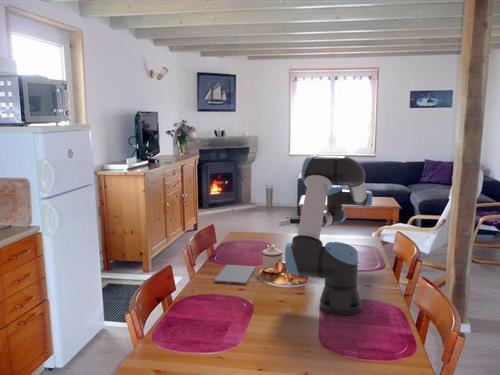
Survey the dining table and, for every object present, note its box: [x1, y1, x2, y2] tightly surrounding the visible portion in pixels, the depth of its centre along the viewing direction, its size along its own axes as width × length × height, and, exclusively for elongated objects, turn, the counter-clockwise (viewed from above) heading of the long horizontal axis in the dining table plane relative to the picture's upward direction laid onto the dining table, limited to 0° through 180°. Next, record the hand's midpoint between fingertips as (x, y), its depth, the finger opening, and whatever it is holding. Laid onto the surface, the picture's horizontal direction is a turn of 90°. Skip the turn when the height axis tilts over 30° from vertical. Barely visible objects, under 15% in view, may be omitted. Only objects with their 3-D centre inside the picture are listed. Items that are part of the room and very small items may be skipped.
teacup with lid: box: [261, 245, 283, 269], centre depth 201 cm, size 12×9×12 cm
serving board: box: [213, 264, 257, 285], centre depth 195 cm, size 20×14×1 cm
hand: (288, 226), depth 204 cm, fingers open, 13 cm apart
